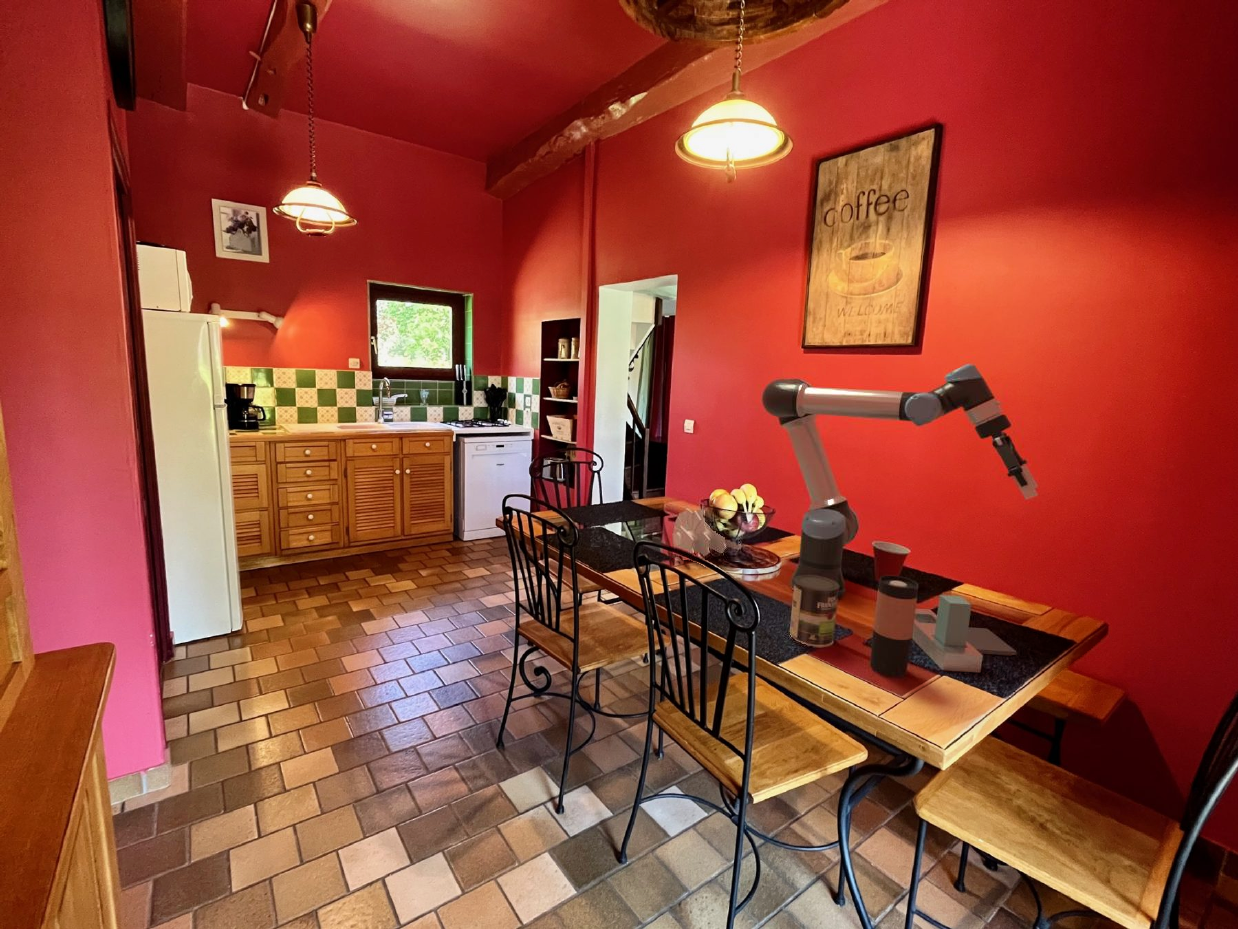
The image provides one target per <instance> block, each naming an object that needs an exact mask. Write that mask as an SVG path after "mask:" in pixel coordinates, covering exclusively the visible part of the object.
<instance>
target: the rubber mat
mask: <svg viewBox="0 0 1238 929" xmlns="http://www.w3.org/2000/svg"><path fill="white" fill-rule="evenodd" d="M966 641H967V642H968V643H969V644H970V645H971V646H973V647H974V648H975V649H976V650H977V651H978V652H980V653H981V654H982V655H983V654H985V655H995V654H996V655H995V656H997V655H998V656H999V655H1000V656H1012V655H1016V656H1017V654H1018V653H1017V651H1016V649H1014V648H1013V647H1011V646H1010V645H1009V644H1007V643H1006V642H1005V641H1004V640H1002V639H1001V638H1000V637H999V636H997V635H996V634H994V633H993V632H992V631H991V630H989V629H988V628H983V627H969V626H968V633H967V640H966Z"/></svg>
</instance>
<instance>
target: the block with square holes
mask: <svg viewBox="0 0 1238 929" xmlns="http://www.w3.org/2000/svg"><path fill="white" fill-rule="evenodd" d="M936 620H937V614H936V613H935V612H934V611H933V610H931V609H930V608H916V610H915V619H914V627H913V636H912V641H914V642H915V643H916V644H917V645H918V647H920V649H922V650H923V652H924V653H926V655H927V656H928V657H929V658H930V659H931V660H932V661H933V662H934V663H935V664H936V665H937V666H938V667H939V668H940V669H941V671H952V672H966V673H967V672H969V673H981V669H982V662H983V658H984V657H983V656H984V655H983V654H981V653H980V652H978V651H977V650H976V649H975V648H974V647H973V646H971V645H970V644H969V643H968V642H967V641H966V647H949V646H943V645H942V644H941V643H940V642H938V641H937V640H936V639H935V638H934V634H935V627H936Z"/></svg>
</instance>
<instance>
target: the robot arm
mask: <svg viewBox="0 0 1238 929" xmlns="http://www.w3.org/2000/svg"><path fill="white" fill-rule="evenodd" d="M944 379H945V383H944V384H942V385H941V386H938V387H936V388H934V389H931V390H930V391H928V392H915V391H914V392H913V391H912V392H911V391H893V390H891V391H889V390H873V389H872V390H871V389H870V390H869V389H856V388H854V389H852V388H849V389H848V388H835V387H833V388H831V387H812V386H811V384H810V383H809V382H807V381H805V380H803V379H799V378H778V379H775V380H773V381H771V382H770V383H768V384H767V385H766V386H765V388H764V390H763V392H762V394H761V396H762V397H761V402H762V406H763V408H764V410H765V411H766V413H768V414H769V415H771V416H774V417H777V419H778V421H779V425H780V427H781V428H783V429H784V430H786V431H787V433H788V436H789V439H790V441H791V445H792V448H793V451H794V453H795V457H796V460H797V463H798V466H799V469H800V471H801V474H802V478H803V480H804V483H805V486H806V489H807V492H808V495H809V498H810V501H811V503H810V506H809V508H808V510H809V511H808V510H807V512H806V513H805V514H803V517H802V522H801V533H800V543H799V557H798V564H797V566H796V567H795V570H794V571H793V572H794V573H793V574H792V577H791V579H790V585H791V587H792V588H793V589H794V578H795V577H797V576H801V575H815V576H821V577H825V578H829V579H831V580H833V581H835V582H837V583H838V584H839V586H840V588H839V592H838V600H841V599H843V598H844V597H845V595H846V584H845V581H844V577H843V572H842V559H843V550H844V547H845V546H846V545H847V544H849V543H851V542H852V541H853V540H854V539H855V538H856V535H857V534H858V531H859V529H860V521H859V518H858V515H857V514H856V512H855V511H854V510H853V509H852V508H850V504H849V502H848V499H847V497H845V496H843V495H841V493H840V491H839V489H838V485H837V482H836V480H835V477H834V473H833V471H832V468H831V465H830V462H829V459H828V456H827V453H826V451H825V447H824V445H823V441H822V439H821V436H820V433H819V430H818V427H817V424H816V419H817V417H818V415H822V416H834V417H835V416H836V417H849V418H861V419H863V418H865V419H875V420H889V421H891V420H892V421H901V422H902V421H903V422H912V423H913V424H914V425H915V426H917V427H922V426H924V425H926V424H929V423H932V422H933V421H935V420H937V419H940V418H941V417H944V416H946V415H948V414H949V413H952V412H954V411H956V410H959V408H962V409H963V411H964V413H965V415H966V416H967V419H968V420H969V422H970V424H971V425H972V426H974V425H975V427H974V430H975V431H976V433H977V435H978V436H979V438H980V439H981V440H985V439H986V438H987V439H988V438H989V437H992V438H991V439H992V440H991V442H992V443H991V444H992V447H993V448H994V449H995V450H996V452H997V454H998V455H999V456H1000V458H1001V460H1002V462H1003V464H1004V466H1005V467H1006V469H1007V471H1008V473H1006V476H1008V478H1011V477H1012V479H1013V480H1014V483H1015V484H1016V485H1017V488H1018V489H1019V491H1020V492H1021V494H1022V495H1023V497H1024V499H1025V500H1029V499H1032V498H1034V497H1037V496H1039V494H1038V492H1037V491H1036V489H1035V488H1039V486H1038V483H1037V482H1036V480H1035V479H1034V477H1033V475H1032V473H1031V472H1030V470H1029V468H1028V467H1027V465H1026V464H1028V461H1027V460H1026V459H1024V458H1022V457H1021V455H1020V453H1019V452H1018V451H1017V449H1016V446H1015V444H1014V443H1013V440H1012V438H1011V436H1010V435H1007V433H1006V431H1005V430H1007V429H1009V428H1011V427H1012V423H1011V421H1010V420H1009V419H1008V417H1007V415H1006V414H1004V413H1003V409H1002V408H1001V406H1000V405H1001V404H1002V401H1001V400H996V398H995V396H994V394H993V392H992V390H991V389H990V387H989V385H988V384H987V382H986V380H985V378H984V377H983V375H982V373H980V371H979V370H978V367H977V366H976V365H975V364H973V363H967V364H965V365H962V366H961V367H959V368H956V369H954V370H953V371H951V372H949V373H947V374H946V375H945V376H944ZM1002 413H1003V414H1002ZM1003 431H1005V432H1003ZM791 587H790V588H791ZM842 597H843V598H842Z"/></svg>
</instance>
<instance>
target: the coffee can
mask: <svg viewBox="0 0 1238 929" xmlns="http://www.w3.org/2000/svg"><path fill="white" fill-rule="evenodd" d="M839 588H840V586H839V584H838V583H837V582H835V581H833V580H831V579H829V578H825V577H821V576H815V575H801V576H797V577H795V578H794V591H793V590H792V591H793V593H792V601H791V602H792V605H791V616H790V625H789V626H790V627H789V632H790V635H791V637H793V638H794V639H795V640H796V641H798V642H801V643H802V644H806V645H807V646H806V645H805V646H806V647H810V646H813V647H812V648H821V649H822V648H828V647H830V646H832V645H833V644H834V641H835V640H834V638H835V637H834V636H835V628H836V620H837V618H836V617H837V607H838V601H839V599H838V592H839ZM790 635H789V636H790ZM791 637H790V638H791ZM796 641H795V642H796ZM798 642H797V643H798ZM802 644H801V645H802Z"/></svg>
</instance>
